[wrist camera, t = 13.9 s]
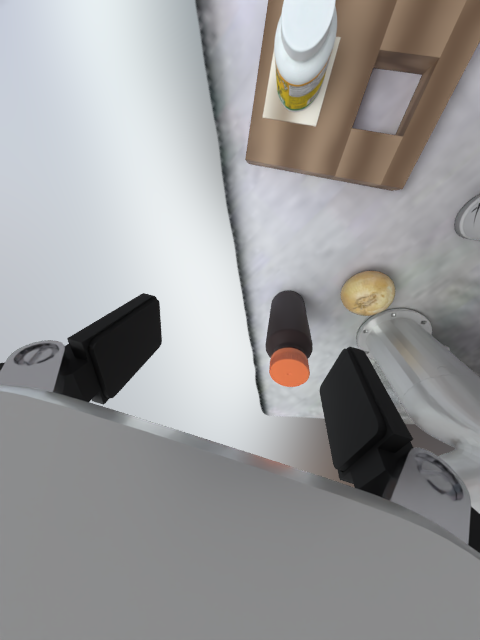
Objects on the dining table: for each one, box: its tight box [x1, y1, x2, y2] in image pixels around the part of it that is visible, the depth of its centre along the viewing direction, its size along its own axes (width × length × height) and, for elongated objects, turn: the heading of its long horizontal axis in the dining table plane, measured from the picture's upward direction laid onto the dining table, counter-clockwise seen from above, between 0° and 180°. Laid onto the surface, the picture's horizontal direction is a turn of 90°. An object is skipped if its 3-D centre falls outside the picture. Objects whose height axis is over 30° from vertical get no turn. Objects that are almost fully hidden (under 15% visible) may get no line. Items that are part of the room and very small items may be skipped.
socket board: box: [245, 0, 480, 191], centre depth 23 cm, size 22×16×3 cm
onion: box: [341, 271, 395, 316], centre depth 33 cm, size 8×8×7 cm
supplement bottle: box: [274, 0, 337, 112], centre depth 19 cm, size 5×5×10 cm
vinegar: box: [266, 291, 312, 387], centre depth 32 cm, size 7×7×20 cm
